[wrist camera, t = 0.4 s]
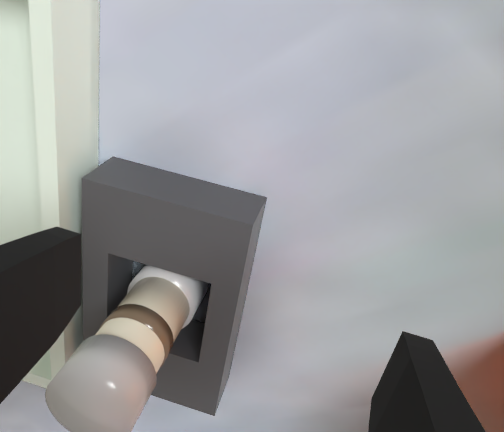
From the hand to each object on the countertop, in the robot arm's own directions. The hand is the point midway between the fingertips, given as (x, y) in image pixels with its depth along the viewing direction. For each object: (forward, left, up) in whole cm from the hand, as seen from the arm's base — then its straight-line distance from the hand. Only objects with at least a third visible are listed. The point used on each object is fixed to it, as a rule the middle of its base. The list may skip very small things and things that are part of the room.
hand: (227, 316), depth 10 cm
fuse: (-7, +4, -10) cm, 13 cm away
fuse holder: (-7, +4, -10) cm, 13 cm away
